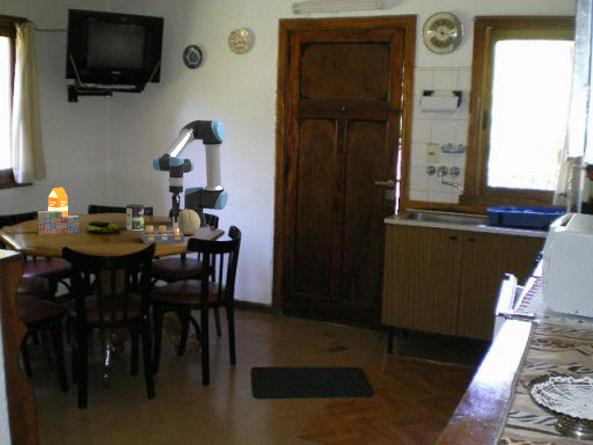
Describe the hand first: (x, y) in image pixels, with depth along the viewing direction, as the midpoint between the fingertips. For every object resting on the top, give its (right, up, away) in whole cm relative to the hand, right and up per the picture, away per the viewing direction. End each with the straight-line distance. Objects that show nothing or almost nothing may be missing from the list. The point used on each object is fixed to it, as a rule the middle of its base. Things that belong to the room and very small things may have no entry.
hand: (175, 228), depth 387 cm
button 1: (-13, -4, -4) cm, 14 cm away
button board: (-7, -7, -1) cm, 10 cm away
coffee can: (-28, -1, +28) cm, 40 cm away
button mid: (-7, -4, -2) cm, 8 cm away
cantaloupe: (+4, -4, +19) cm, 20 cm away
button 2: (0, -5, +1) cm, 5 cm away
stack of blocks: (-66, -3, +9) cm, 67 cm away
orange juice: (-80, +4, +48) cm, 93 cm away
